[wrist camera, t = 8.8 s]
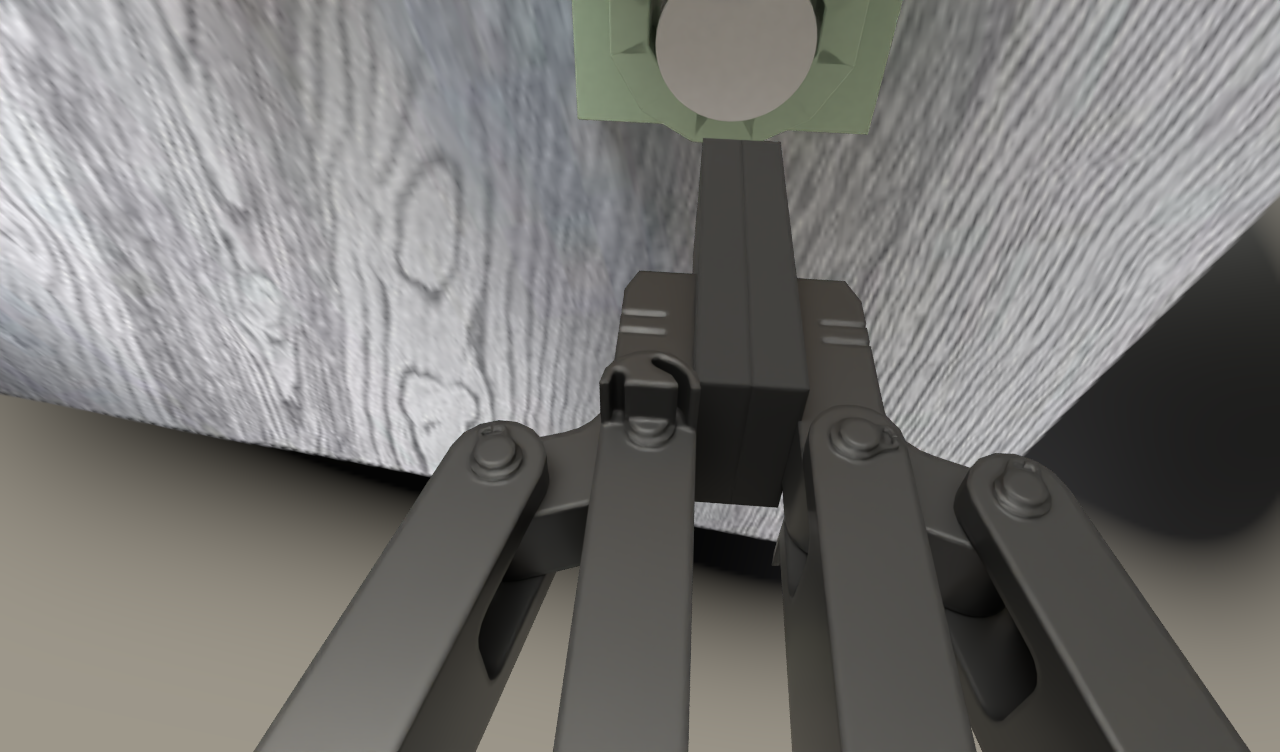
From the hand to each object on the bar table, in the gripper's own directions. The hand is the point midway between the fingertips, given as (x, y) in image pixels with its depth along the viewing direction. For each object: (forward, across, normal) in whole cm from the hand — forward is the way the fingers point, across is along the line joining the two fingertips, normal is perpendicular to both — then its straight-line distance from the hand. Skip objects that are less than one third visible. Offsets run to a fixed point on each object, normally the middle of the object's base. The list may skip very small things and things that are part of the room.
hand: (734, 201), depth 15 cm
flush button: (+9, 0, 0) cm, 9 cm away
